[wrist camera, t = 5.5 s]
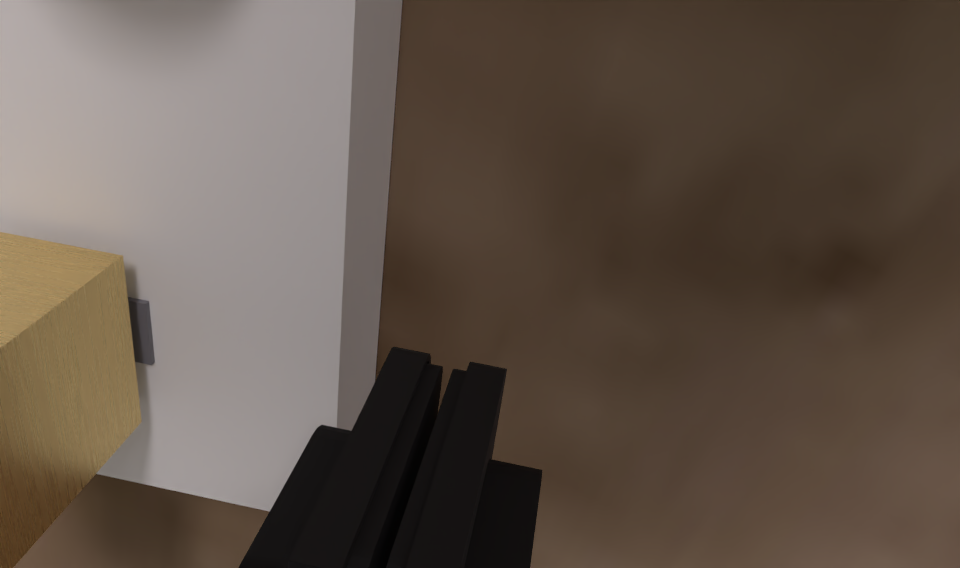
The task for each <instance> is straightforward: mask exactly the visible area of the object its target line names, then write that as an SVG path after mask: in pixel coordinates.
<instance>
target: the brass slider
mask: <svg viewBox="0 0 960 568" xmlns="http://www.w3.org/2000/svg"><path fill="white" fill-rule="evenodd" d="M141 422H142V420H141V411H140V402H139V393H138V385H137V376H136V367H135V358H134V349H133V340H132V331H131V322H130V313H129V304H128V296H127V287H126V278H125V269H124V260H123V255H118V254H113V253H107V252H102V251H97V250H92V249H87V248H81V247H76V246H71V245H66V244H61V243H55V242H50V241H45V240H40V239H35V238H29V237H24V236H19V235H14V234H9V233H3V232H0V568H13V567H14V566H15V565H16V564H17V563H18V561H19V560H20V559H21V558H22V557H23V556H24V555H25V554H26V552H27V551H28V550H29V549H30V548H31V547H32V546H33V544H34V543H35V542H36V541H37V540H38V539H39V538H40V537H41V535H42V534H43V533H44V532H45V531H46V530H47V529H48V527H49V526H50V525H51V524H52V523H53V522H54V521H55V520H56V518H57V517H58V516H59V515H60V514H61V513H62V512H63V510H64V509H65V508H66V507H67V506H68V505H69V504H70V503H71V501H72V500H73V499H74V498H75V497H76V496H77V495H78V493H79V492H80V491H81V490H82V489H83V488H84V487H85V486H86V484H87V483H88V482H89V481H90V480H91V479H92V478H93V476H94V475H95V474H96V473H97V472H98V471H99V470H100V469H101V467H102V466H103V465H104V464H105V463H106V462H107V461H108V459H109V458H110V457H111V456H112V455H113V454H114V453H115V452H116V450H117V449H118V448H119V447H120V446H121V445H122V444H123V442H124V441H125V440H126V439H127V438H128V437H129V436H130V435H131V433H132V432H133V431H134V430H135V429H136V428H137V427H138V425H139V424H140V423H141Z"/></svg>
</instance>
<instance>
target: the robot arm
mask: <svg viewBox="0 0 960 568" xmlns="http://www.w3.org/2000/svg"><path fill="white" fill-rule="evenodd" d="M506 371H507V369H505V368H500V367H495V366H490V365H484V364H479V363H474V362H470V363H469V366H468V369H467V371H463V370H458V369H453V371H452V374H451V377H450V380H449V383H448V386H447V389H446V392H445V394H444V397H443V400H442V403H441V406H440V409H439V412H438V406H439V398H440V390H441V382H442V373H443V367H442V366H438V365H433V364H431V355H430V354H428V353H423V352H418V351H413V350H408V349H403V348H398V347H393V348H392V349H391V351H390V353H389V355H388V357H387V359H386V361H385V363H384V365H383V367H382V369H381V371H380V373H379V375H378V377H377V379H376V381H375V383H374V385H373V388H372V390H371V392H370V394H369V396H368V398H367V400H366V402H365V404H364V406H363V408H362V410H361V412H360V414H359V416H358V418H357V420H356V422H355V425H354V427H353V429H352V431H350V430H345V429H340V428H336V427H331V426H326V425H320V426H319V427H317V429H316V430H315V432H314V433H313V434H312V436H311V438H310V440H309V442H308V443H307V445H306V447H305V449H304V451H303V453H302V454H301V456H300V458H299V460H298V462H297V463H296V465H295V467H294V469H293V471H292V472H291V474H290V476H289V478H288V480H287V481H286V483H285V485H284V487H283V489H282V490H281V492H280V494H279V496H278V498H277V499H276V501H275V503H274V505H273V507H272V508H271V510H270V512H269V514H268V516H267V517H266V519H265V521H264V523H263V525H262V527H261V528H260V530H259V532H258V534H257V536H256V537H255V539H254V541H253V543H252V545H251V546H250V548H249V550H248V552H247V554H246V555H245V557H244V559H243V561H242V563H241V564H240V566H239V568H530V563H531V556H532V548H533V540H534V532H535V525H536V517H537V509H538V502H539V494H540V486H541V478H542V470H540V469H535V468H530V467H525V466H520V465H515V464H510V463H506V462H501V461H496V460H492V454H493V448H494V442H495V436H496V430H497V425H498V419H499V413H500V407H501V401H502V395H503V389H504V384H505V378H506ZM437 414H438V415H437Z"/></svg>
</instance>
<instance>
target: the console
mask: <svg viewBox="0 0 960 568" xmlns="http://www.w3.org/2000/svg"><path fill="white" fill-rule="evenodd" d="M401 14H402V0H0V232H3V233H9V234H14V235H19V236H24V237H29V238H35V239H40V240H45V241H50V242H55V243H61V244H66V245H71V246H76V247H81V248H87V249H92V250H97V251H102V252H107V253H113V254H118V255H123V260H124V269H125V278H126V287H127V296H128V304H129V313H130V322H131V331H132V340H133V349H134V358H135V367H136V376H137V385H138V393H139V402H140V411H141V420H142V422H141V423H140V424H139V425H138V427H137V428H136V429H135V430H134V431H133V432H132V433H131V435H130V436H129V437H128V438H127V439H126V440H125V441H124V442H123V444H122V445H121V446H120V447H119V448H118V449H117V450H116V452H115V453H114V454H113V455H112V456H111V457H110V458H109V459H108V461H107V462H106V463H105V464H104V465H103V466H102V467H101V469H100V470H99V471H98V472H97V473H96V474H99V475H104V476H109V477H113V478H118V479H122V480H127V481H132V482H136V483H141V484H145V485H150V486H155V487H159V488H164V489H168V490H173V491H178V492H182V493H187V494H191V495H196V496H201V497H205V498H210V499H214V500H219V501H224V502H228V503H233V504H237V505H242V506H247V507H251V508H256V509H260V510H265V511H270V510H271V508H272V507H273V505H274V503H275V501H276V499H277V498H278V496H279V494H280V492H281V490H282V489H283V487H284V485H285V483H286V481H287V480H288V478H289V476H290V474H291V472H292V471H293V469H294V467H295V465H296V463H297V462H298V460H299V458H300V456H301V454H302V453H303V451H304V449H305V447H306V445H307V443H308V442H309V440H310V438H311V436H312V434H313V433H314V432H315V430H316V429H317V427H319V426H320V425H326V426H331V427H336V428H340V429H345V430H350V431H352V429H353V427H354V425H355V422H356V420H357V418H358V416H359V414H360V412H361V410H362V408H363V406H364V404H365V402H366V400H367V398H368V396H369V394H370V392H371V390H372V388H373V385H374V383H375V375H376V361H377V347H378V334H379V320H380V306H381V292H382V278H383V264H384V250H385V236H386V222H387V209H388V195H389V181H390V167H391V153H392V139H393V125H394V111H395V97H396V84H397V70H398V56H399V42H400V28H401Z"/></svg>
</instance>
